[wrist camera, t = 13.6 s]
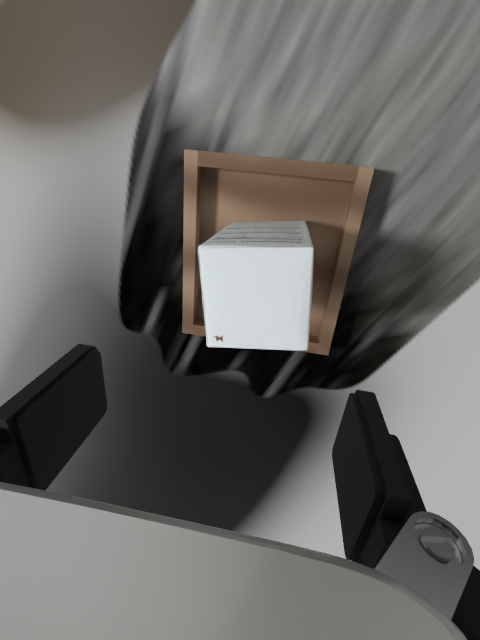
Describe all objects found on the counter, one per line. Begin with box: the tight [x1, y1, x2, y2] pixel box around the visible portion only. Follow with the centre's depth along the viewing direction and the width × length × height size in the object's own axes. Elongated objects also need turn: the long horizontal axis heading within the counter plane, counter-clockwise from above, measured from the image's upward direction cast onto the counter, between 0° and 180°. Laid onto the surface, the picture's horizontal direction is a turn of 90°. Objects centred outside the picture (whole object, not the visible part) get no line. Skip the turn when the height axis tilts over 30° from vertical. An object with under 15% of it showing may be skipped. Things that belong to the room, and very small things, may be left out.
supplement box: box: [198, 220, 314, 351], centre depth 26 cm, size 7×7×13 cm
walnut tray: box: [182, 149, 375, 355], centre depth 31 cm, size 18×16×2 cm
